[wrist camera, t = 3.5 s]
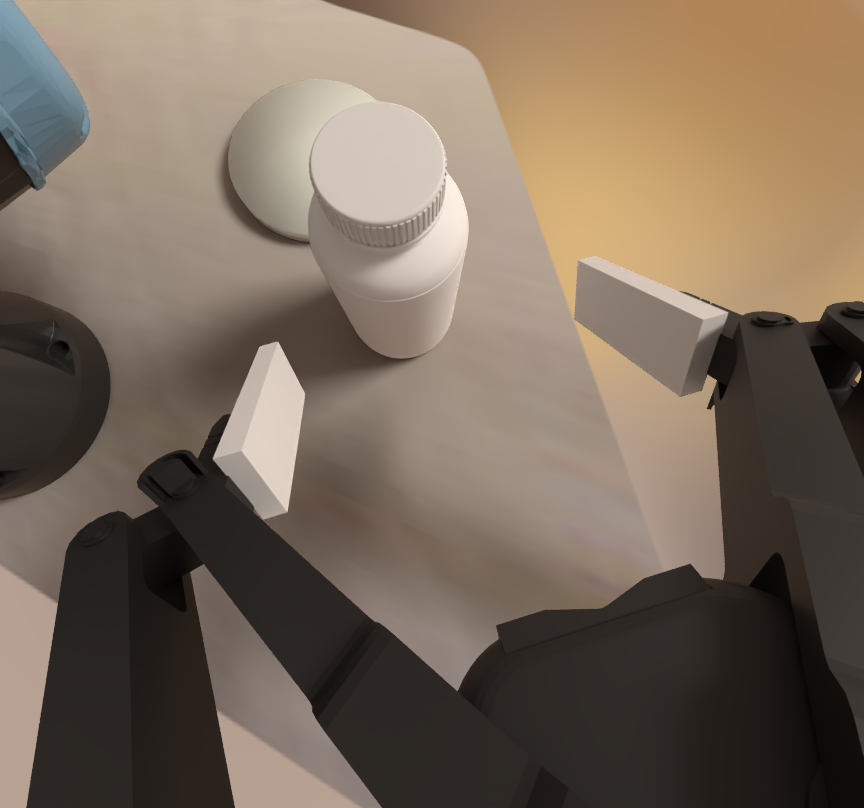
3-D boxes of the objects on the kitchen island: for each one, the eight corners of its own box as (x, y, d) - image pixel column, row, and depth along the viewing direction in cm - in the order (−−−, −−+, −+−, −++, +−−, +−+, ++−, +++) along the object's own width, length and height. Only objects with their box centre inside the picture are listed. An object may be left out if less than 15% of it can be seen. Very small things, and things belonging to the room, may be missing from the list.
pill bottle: (437, 373, 28) (447, 280, 13) (339, 345, 28) (237, 221, 13) (465, 281, 29) (504, 96, 14) (370, 254, 29) (308, 44, 14)
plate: (209, 212, 29) (200, 202, 28) (273, 74, 31) (267, 59, 30) (368, 264, 29) (366, 255, 28) (424, 120, 31) (424, 107, 29)
